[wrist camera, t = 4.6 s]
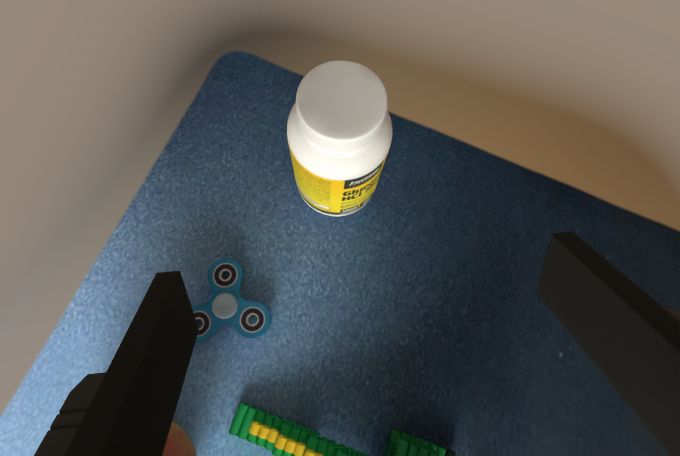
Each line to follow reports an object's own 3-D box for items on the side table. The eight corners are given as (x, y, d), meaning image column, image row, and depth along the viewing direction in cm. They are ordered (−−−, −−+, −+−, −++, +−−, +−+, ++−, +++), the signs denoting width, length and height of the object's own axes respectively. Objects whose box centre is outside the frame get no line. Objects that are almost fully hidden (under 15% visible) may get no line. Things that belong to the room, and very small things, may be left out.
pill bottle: (347, 234, 29) (358, 179, 18) (280, 189, 30) (254, 111, 19) (391, 171, 30) (425, 86, 20) (326, 129, 31) (326, 26, 20)
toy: (248, 369, 26) (245, 371, 25) (176, 332, 27) (171, 332, 26) (290, 288, 28) (288, 286, 27) (221, 254, 28) (217, 251, 27)
